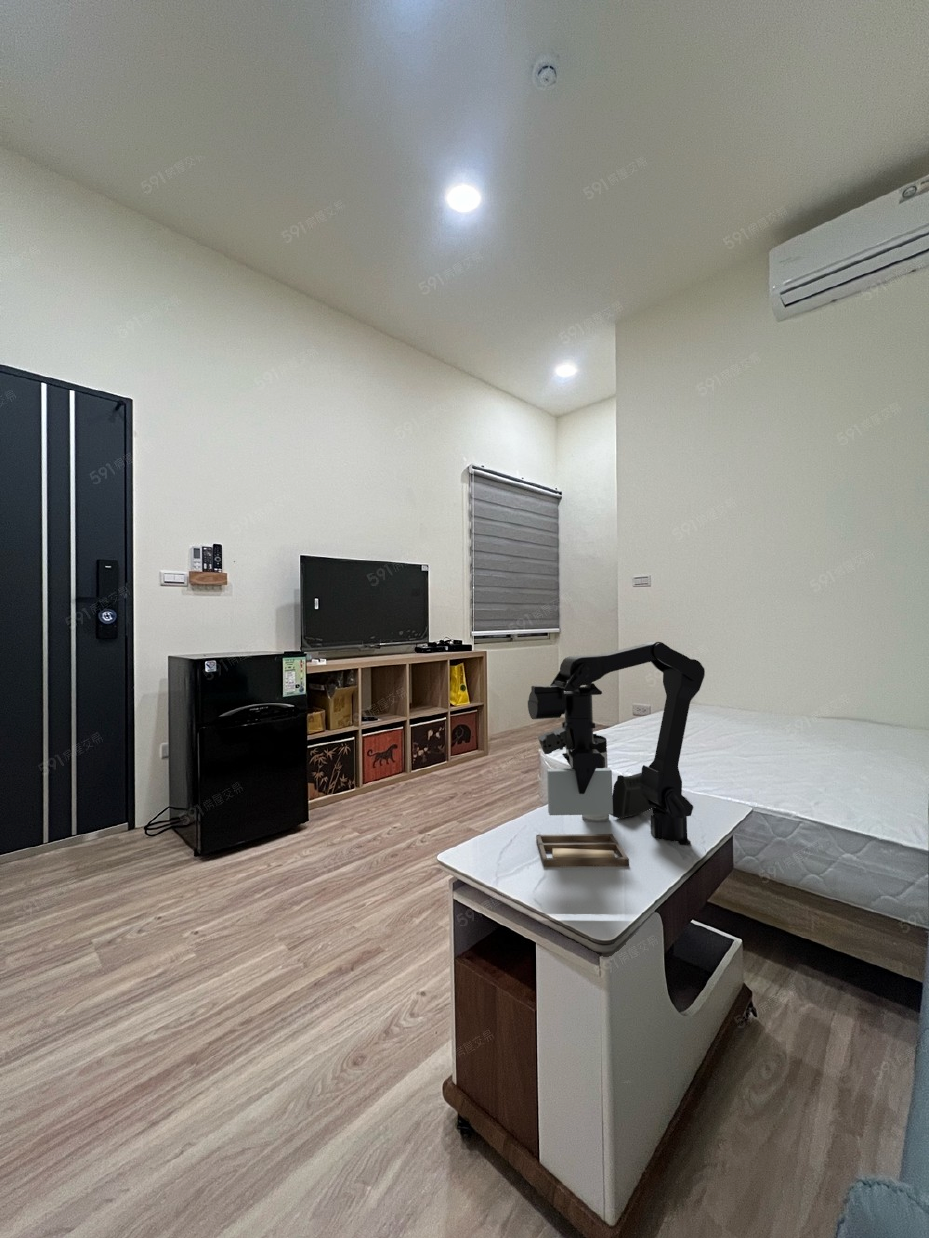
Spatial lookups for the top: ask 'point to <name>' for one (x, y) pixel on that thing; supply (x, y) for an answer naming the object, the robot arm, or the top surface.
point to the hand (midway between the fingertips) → (580, 791)
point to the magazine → (628, 797)
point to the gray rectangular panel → (571, 802)
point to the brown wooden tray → (581, 862)
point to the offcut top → (581, 853)
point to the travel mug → (601, 748)
